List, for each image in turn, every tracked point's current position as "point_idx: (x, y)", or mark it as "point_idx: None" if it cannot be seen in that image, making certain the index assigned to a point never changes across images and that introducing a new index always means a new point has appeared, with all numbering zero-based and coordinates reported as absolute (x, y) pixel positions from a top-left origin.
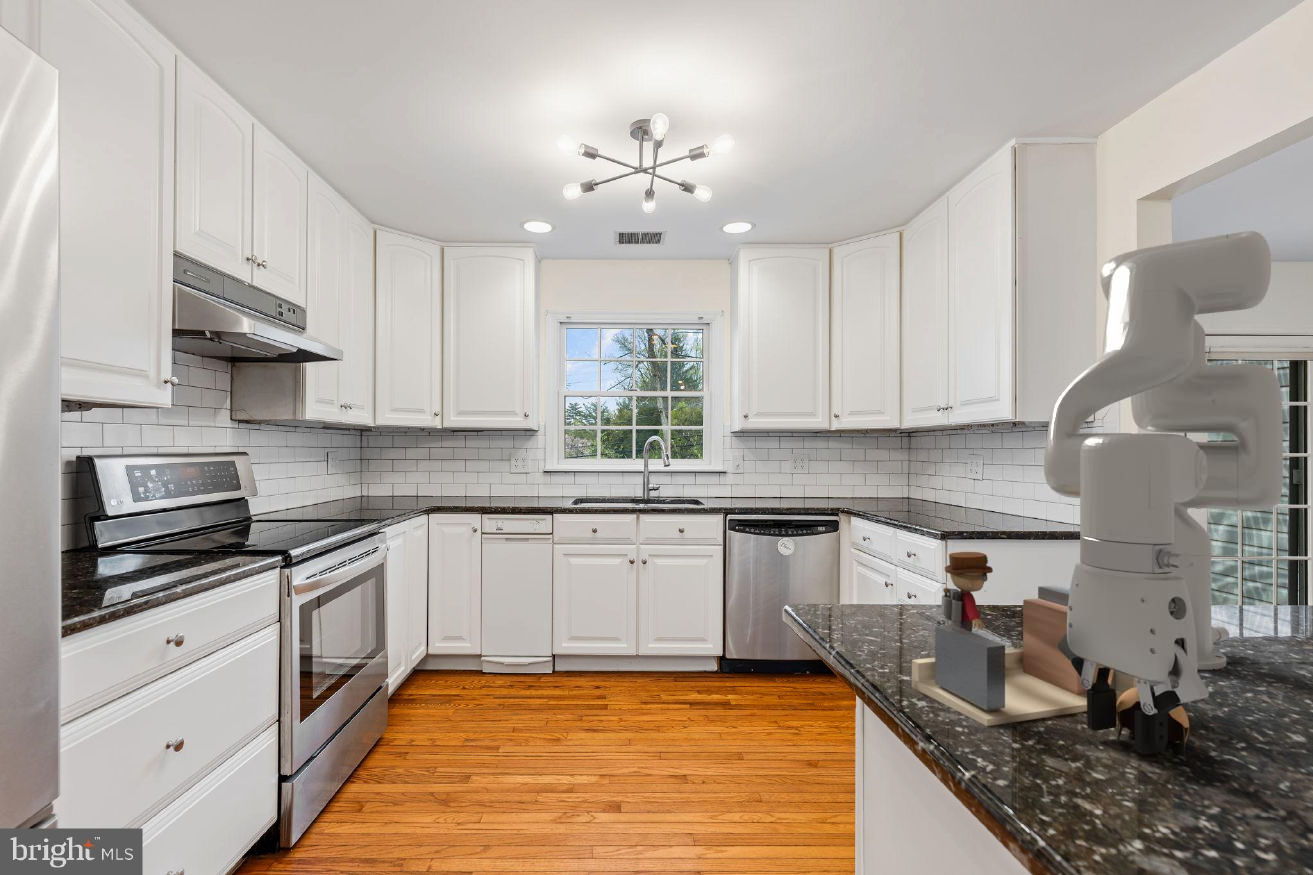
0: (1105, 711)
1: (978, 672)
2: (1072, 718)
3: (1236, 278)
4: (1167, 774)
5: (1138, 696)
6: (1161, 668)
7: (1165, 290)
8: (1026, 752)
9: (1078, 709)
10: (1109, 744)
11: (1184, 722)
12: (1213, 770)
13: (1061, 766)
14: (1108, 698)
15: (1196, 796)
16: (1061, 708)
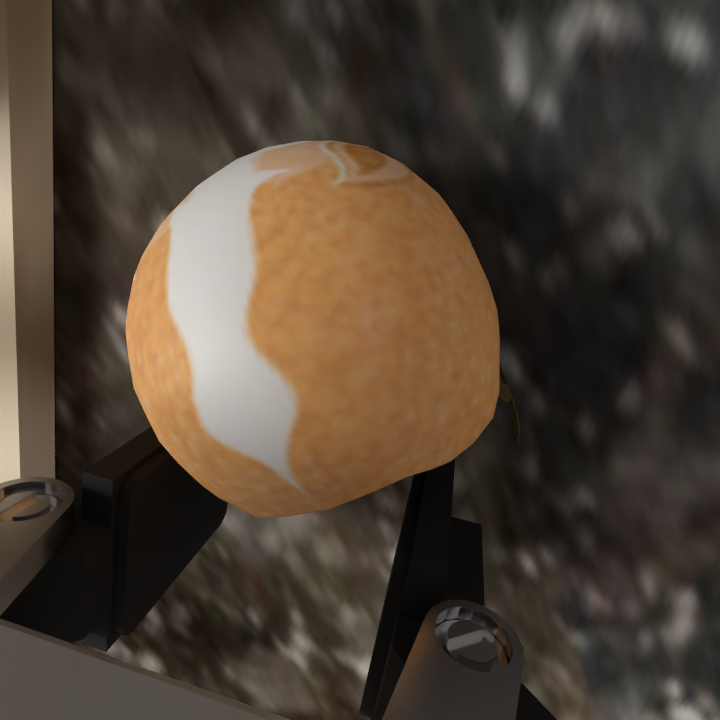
0: (189, 505)
1: None
2: (63, 290)
3: None
4: (488, 479)
5: (249, 503)
6: None
7: None
8: (193, 685)
9: (30, 246)
10: None
11: (494, 376)
12: (581, 276)
13: (289, 692)
14: (151, 527)
15: (613, 567)
16: (18, 351)
